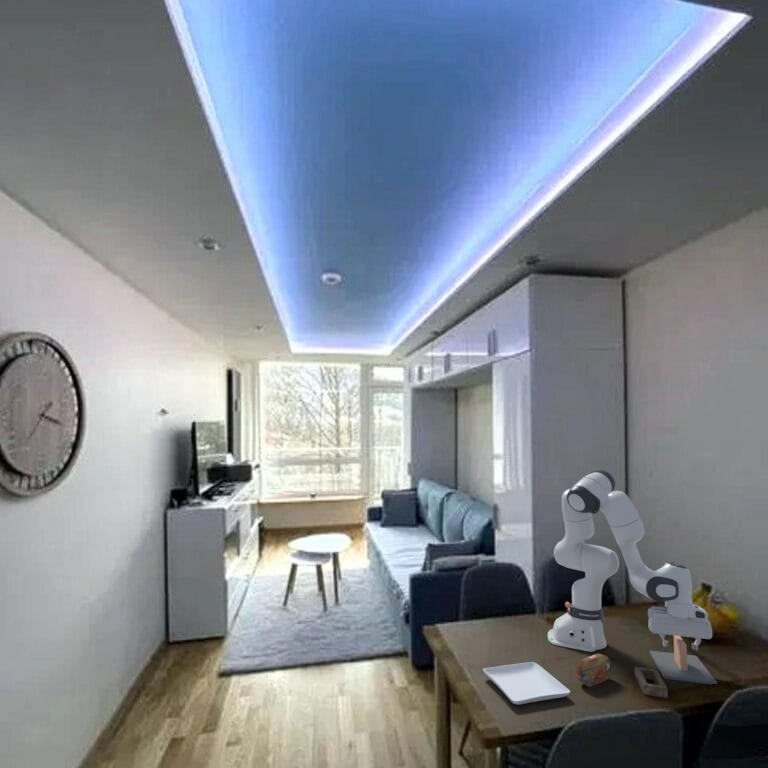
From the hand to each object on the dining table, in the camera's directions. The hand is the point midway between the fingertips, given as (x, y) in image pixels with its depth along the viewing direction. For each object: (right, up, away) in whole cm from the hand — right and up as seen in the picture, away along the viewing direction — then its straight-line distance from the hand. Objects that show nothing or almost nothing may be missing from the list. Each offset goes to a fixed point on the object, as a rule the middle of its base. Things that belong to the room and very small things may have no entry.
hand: (680, 647), depth 182 cm
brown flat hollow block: (-18, -6, -13) cm, 23 cm away
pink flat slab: (0, -6, -1) cm, 6 cm away
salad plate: (-61, -6, -15) cm, 63 cm away
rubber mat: (0, -7, -1) cm, 7 cm away
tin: (-36, -6, -11) cm, 38 cm away
